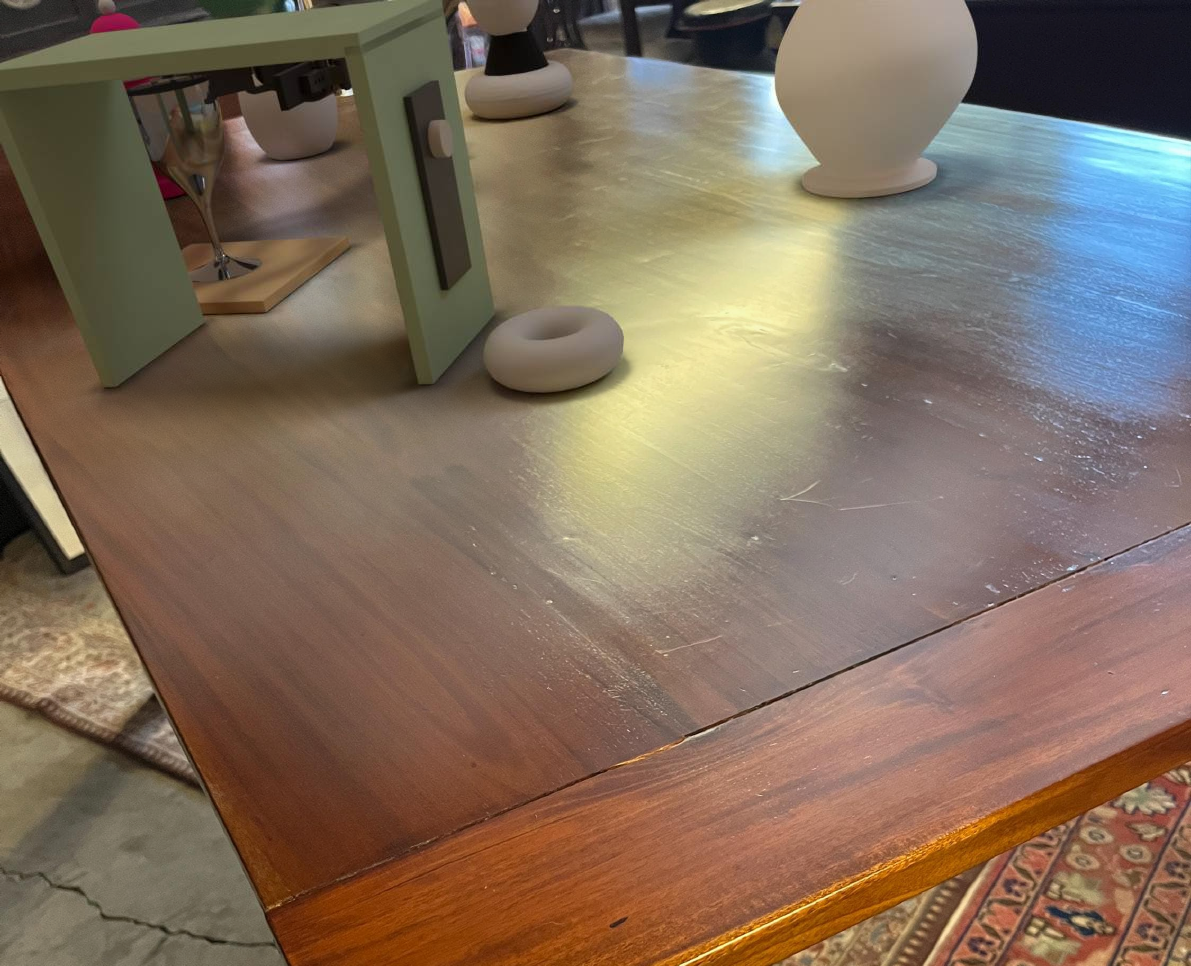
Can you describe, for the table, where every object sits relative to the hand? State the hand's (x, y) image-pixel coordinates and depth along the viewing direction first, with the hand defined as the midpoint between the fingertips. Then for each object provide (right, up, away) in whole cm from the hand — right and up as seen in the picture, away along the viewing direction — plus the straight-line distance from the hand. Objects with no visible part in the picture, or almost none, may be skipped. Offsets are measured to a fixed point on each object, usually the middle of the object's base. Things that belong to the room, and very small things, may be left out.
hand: (214, 99), depth 101 cm
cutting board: (0, -15, +4) cm, 15 cm away
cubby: (+11, -28, -13) cm, 33 cm away
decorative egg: (-4, +22, +45) cm, 50 cm away
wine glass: (0, -14, +4) cm, 15 cm away
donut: (+32, -34, -22) cm, 52 cm away
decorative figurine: (+25, +30, +50) cm, 63 cm away
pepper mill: (-18, +11, +36) cm, 42 cm away
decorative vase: (+61, -5, +5) cm, 62 cm away
